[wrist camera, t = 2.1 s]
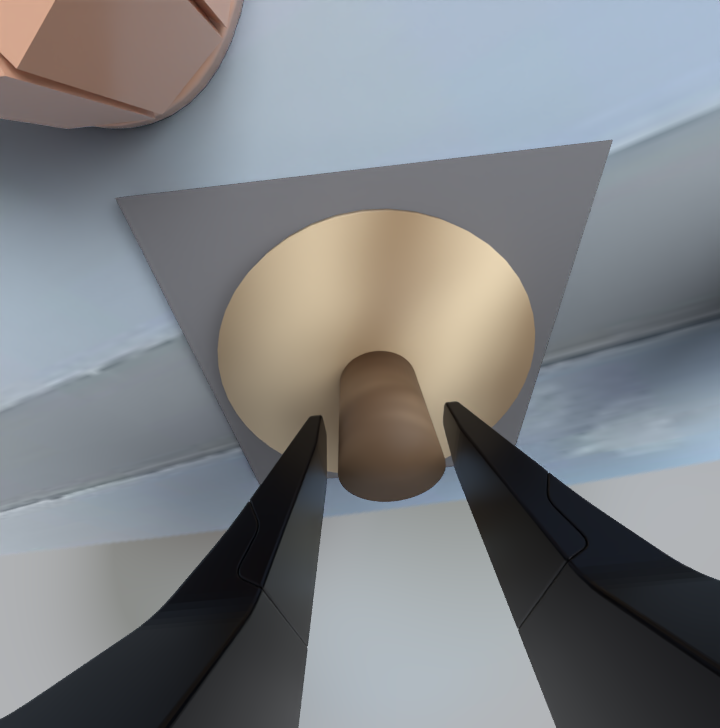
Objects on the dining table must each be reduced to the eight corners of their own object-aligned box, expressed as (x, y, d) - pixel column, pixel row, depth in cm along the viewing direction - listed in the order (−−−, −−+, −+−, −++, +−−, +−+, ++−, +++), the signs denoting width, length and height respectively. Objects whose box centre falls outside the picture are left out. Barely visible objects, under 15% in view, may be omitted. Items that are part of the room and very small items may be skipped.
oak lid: (564, 185, 8) (761, 198, 4) (495, 449, 15) (549, 548, 11) (165, 233, 9) (12, 287, 5) (273, 472, 15) (249, 577, 11)
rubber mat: (599, 141, 8) (612, 139, 8) (506, 453, 16) (510, 460, 16) (126, 196, 8) (115, 197, 8) (261, 477, 16) (260, 485, 16)
